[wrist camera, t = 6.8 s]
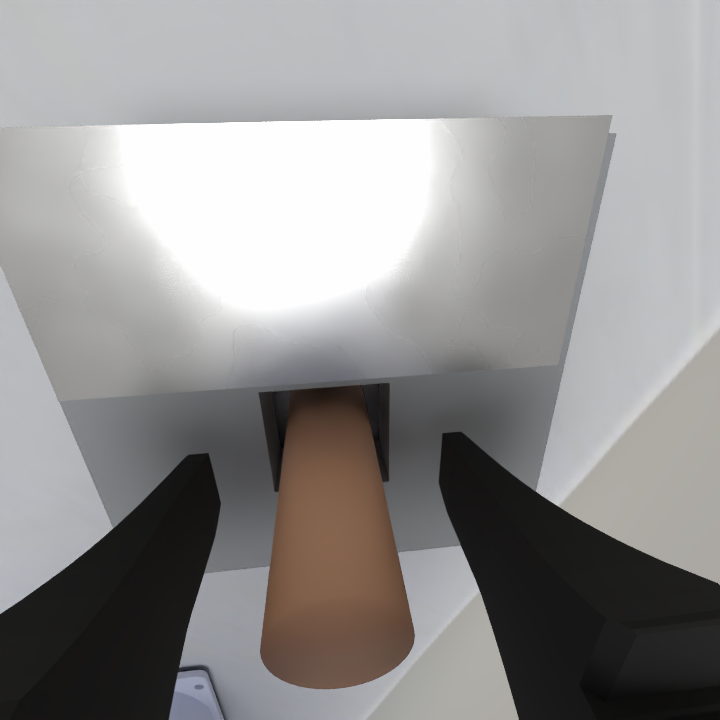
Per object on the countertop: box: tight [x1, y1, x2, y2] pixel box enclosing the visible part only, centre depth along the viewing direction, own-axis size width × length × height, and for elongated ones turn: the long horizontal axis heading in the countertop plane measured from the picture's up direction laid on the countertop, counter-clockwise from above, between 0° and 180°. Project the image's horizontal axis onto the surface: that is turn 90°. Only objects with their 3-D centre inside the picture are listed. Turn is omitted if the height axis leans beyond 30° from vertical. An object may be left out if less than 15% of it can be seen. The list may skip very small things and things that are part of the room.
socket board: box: [59, 133, 616, 573], centre depth 14 cm, size 15×16×2 cm
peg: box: [260, 385, 415, 689], centre depth 12 cm, size 3×3×9 cm
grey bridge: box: [0, 115, 612, 401], centre depth 9 cm, size 4×10×4 cm, turn 92°
